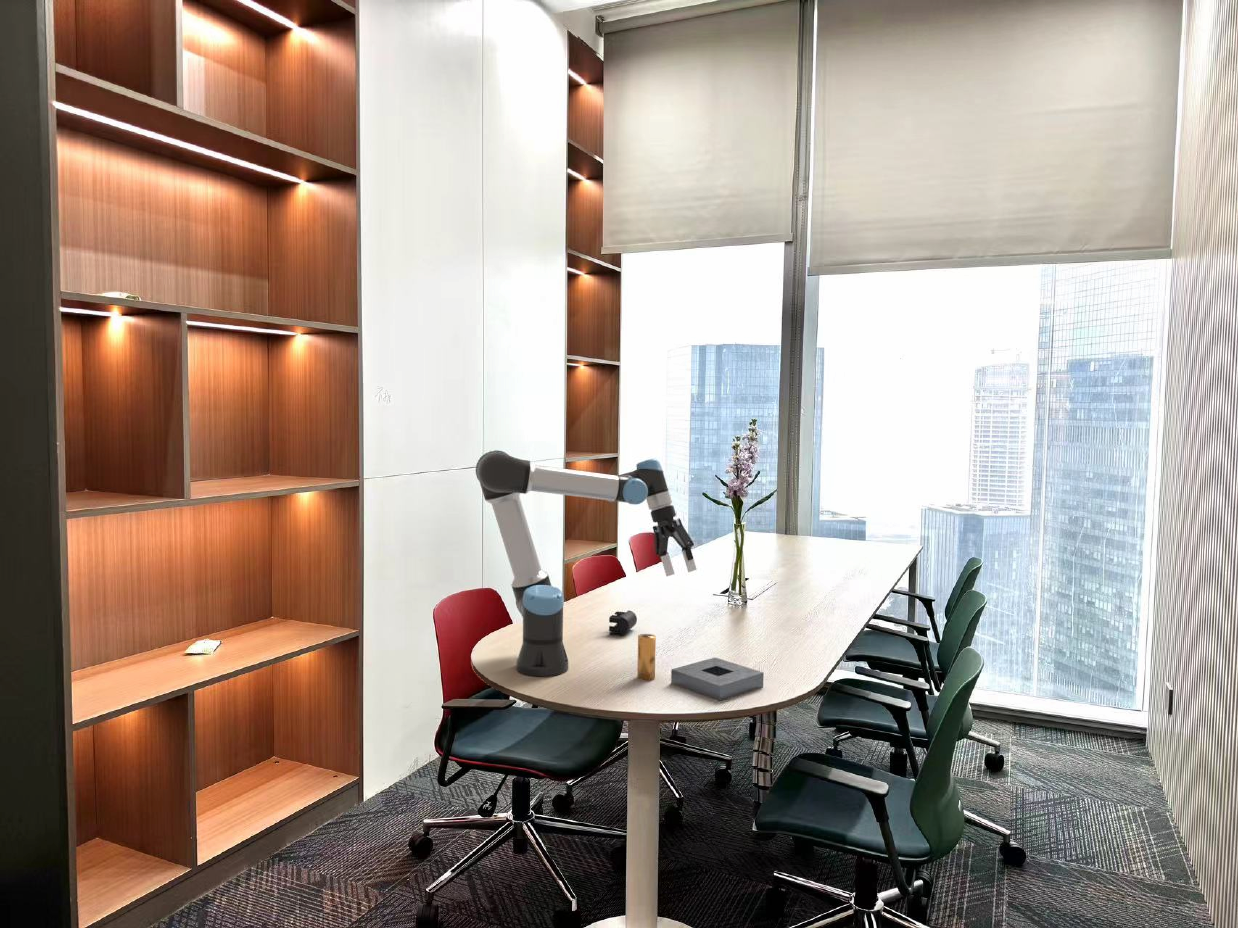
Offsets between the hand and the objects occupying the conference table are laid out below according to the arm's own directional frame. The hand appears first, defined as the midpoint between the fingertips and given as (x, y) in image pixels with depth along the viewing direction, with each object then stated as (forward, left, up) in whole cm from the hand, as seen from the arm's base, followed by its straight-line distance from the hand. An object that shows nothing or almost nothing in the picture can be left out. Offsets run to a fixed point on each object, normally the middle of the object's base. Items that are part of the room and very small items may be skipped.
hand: (681, 573), depth 258 cm
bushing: (-24, -10, -26) cm, 36 cm away
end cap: (+3, +30, -26) cm, 40 cm away
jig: (-13, -27, -25) cm, 39 cm away
